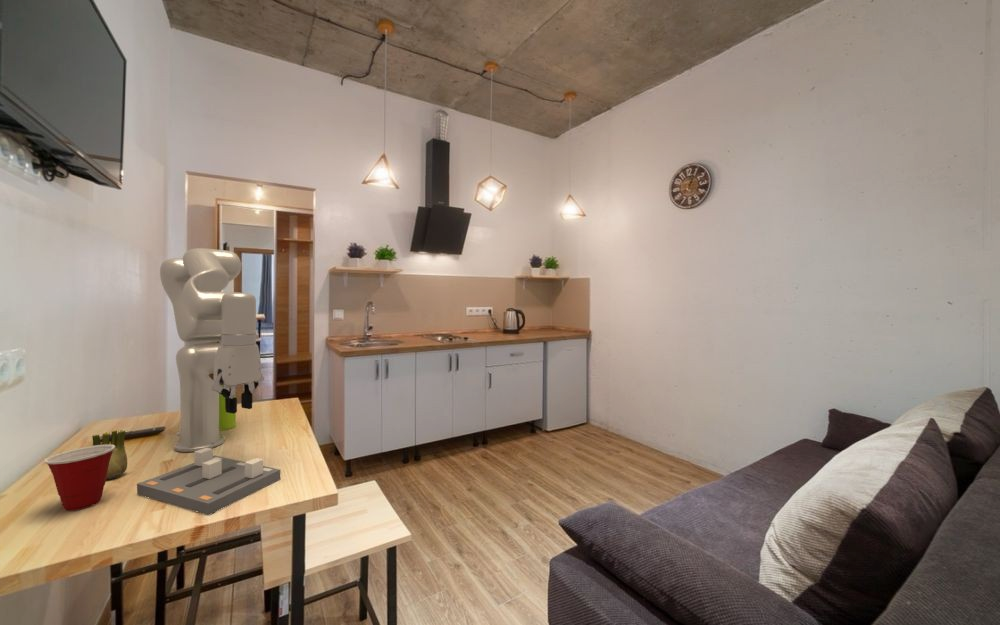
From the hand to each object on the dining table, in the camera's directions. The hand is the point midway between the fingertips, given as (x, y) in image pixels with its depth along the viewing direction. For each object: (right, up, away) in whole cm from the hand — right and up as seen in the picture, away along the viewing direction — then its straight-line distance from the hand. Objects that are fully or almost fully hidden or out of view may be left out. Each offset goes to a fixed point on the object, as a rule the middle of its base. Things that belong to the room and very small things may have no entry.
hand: (239, 409), depth 103 cm
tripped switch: (-3, -15, -6) cm, 16 cm away
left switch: (-10, -14, +1) cm, 17 cm away
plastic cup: (-25, -17, -15) cm, 34 cm away
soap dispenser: (-28, -15, +36) cm, 48 cm away
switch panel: (-3, -17, -6) cm, 19 cm away
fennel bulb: (-31, -17, -2) cm, 36 cm away
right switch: (+7, -15, -5) cm, 17 cm away
